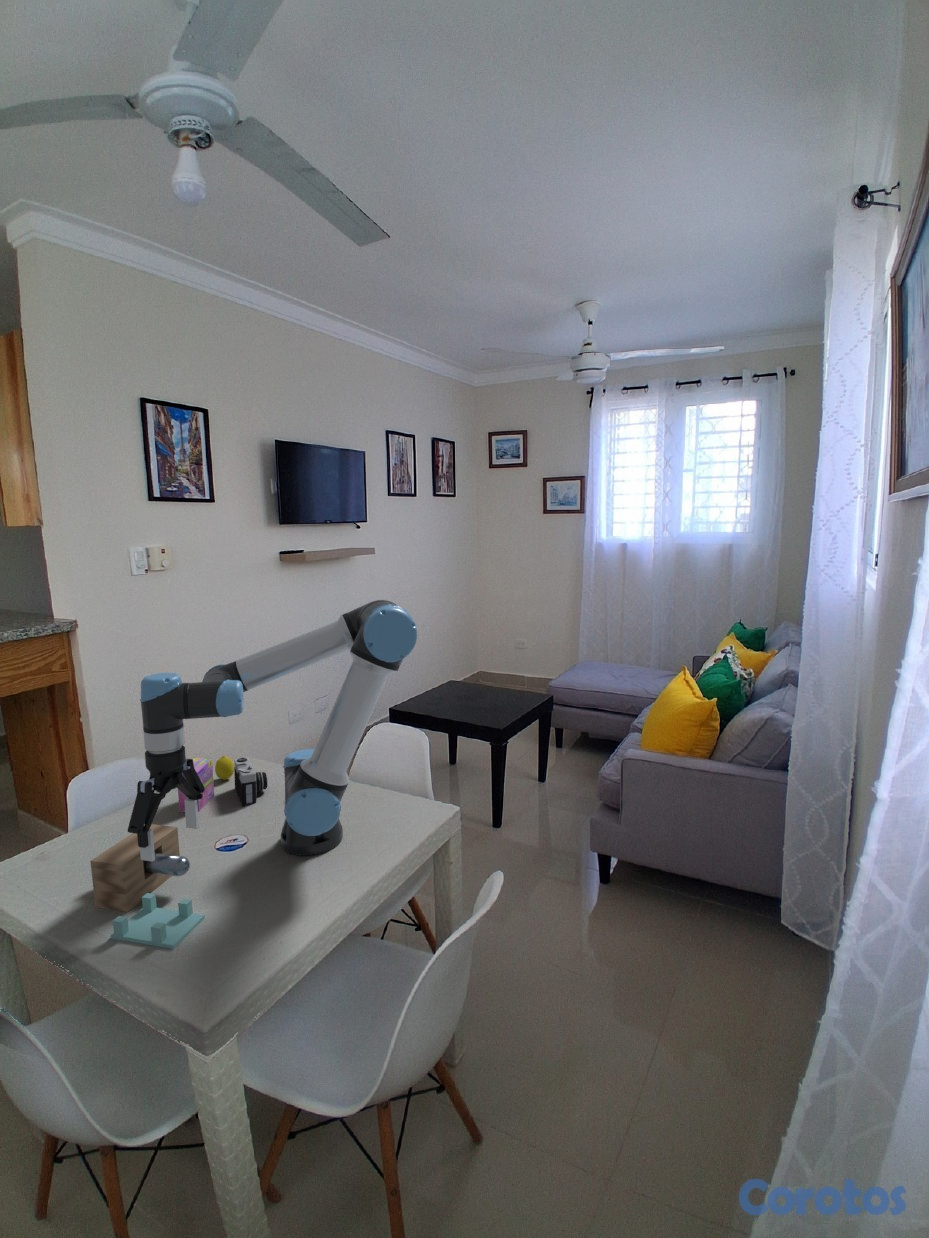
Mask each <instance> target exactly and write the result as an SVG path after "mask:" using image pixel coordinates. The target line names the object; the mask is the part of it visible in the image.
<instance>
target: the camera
mask: <svg viewBox="0 0 929 1238" xmlns="http://www.w3.org/2000/svg"><path fill="white" fill-rule="evenodd" d="M233 763H234V773H233V774H234V790H235V792H236V794H237V797H238V799H239V802H240V804H241V807H244V806H248V805H249V804H250V805H254V804H256V803H257V793H260V792H263V790H267V789H268V777H267V773H266V772H265V771H257V772H256V770H255V768H254V767H253V764H252V763H251V761H250V758H249V757H240V758H234V761H233ZM250 805H249V806H250Z"/></svg>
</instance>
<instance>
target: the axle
mask: <svg viewBox="0 0 929 1238" xmlns="http://www.w3.org/2000/svg"><path fill="white" fill-rule="evenodd" d="M143 865H144V872H150V873H157V874H164V875H171V877H173V876H174V877H182V876H185V875H186V874H187V873H188V872H189V870H190V868H191V862H190V860H189V859H188V857H186V856H183V855H182V856H181V855H180V856H176V855H168V854H161V853H155V860H154V861H145V860H143Z"/></svg>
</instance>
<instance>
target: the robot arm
mask: <svg viewBox="0 0 929 1238" xmlns="http://www.w3.org/2000/svg"><path fill="white" fill-rule="evenodd" d="M417 629H418V628H417V625H416V622H415V621H414V618H413V617H412V616H411V614H410V612H408V611H407V610H406V609H404V608H403V607H401V606H398V605H397V604H396V603H394V602H392V601H390V600H386V599H377V600H372V601H370V602H368V603H366V604H364V605H361V606H359V607H357V608H354V609H353V610H350V611H348V612H346V613H343V614H340V616H339V618H338V620H335V621H334V622H331V623H329V624H326V625H324V626H321V627H318V628H316V629H314V630H311V631H308V632H306V633H302V634H301V635H299V636H298V635H297V636H295V637H293V638H291V639H288V640H285V641H283V642H280V643H277V644H275V645H273V646H269V647H267V648H265V649H261V650H260V651H258V652H255V653H252V654H249V655H246V656H245V657H242V658H239V659H236V660H233V661H231V662H229V663H226V664H222V663H221V664H217V665H214V666H213V667H211V668H210V669H209V670H208V671H207V672H206V673H205V674H204V676H203V679H202V681H201V682H200V681H199V682H183V680H182V679H181V675H180V674H178V673H176V672H171V673H170V672H159V673H158V672H157V673H153V674H150V675H146V676H145V677H144V678H143V679H141V682H140V699H139V700H140V707H141V708H140V709H141V717H142V729H143V730H142V731H143V742H144V743H143V744H144V749H145V750H146V751H145V752H144V761H145V768H146V769H147V770H148V772H149V779H147V780H145V781H144V780H139V781H138V782H137V785H136V786H137V787H136V789H137V791H136V796H135V799H134V804H133V807H132V812H131V815H130V820H129V823H128V827H127V833H130V834H132V833H136V834H137V838H138V846H139V847H140V855H141V860H145V861H154V860H155V852H154V838H153V830H152V829H150V827H151V824H153V822H154V820H155V816H156V814H157V812H158V810H159V807H160V805H161V802H162V800H164V799H165V797H166V795H167V794H168V793H170V792H171V791H172V790H175V789H177V790H178V789H179V790H180V791H181V792H182V793H183V794H184V795H185V796H186V797H187V798H189V799H186V800H184V801H185V812H184V816H185V828H187V829H194V830H197V829H199V828H200V822H199V812H198V810H199V805H198V799H202V797H203V794H200V793H203V792H204V791H205V788H204V786H203V784H202V782H201V780H200V778H199V776H198V774H197V772H196V770H195V768H194V763H193V759H194V758H186V748H185V743H186V740H185V739H186V738H185V725H184V720H193V719H209V718H229V717H231V716H233V717H234V716H239V715H241V714H242V713H243V711H244V702H245V701H244V700H245V699H244V693H246V692H247V691H250V690H252V689H255V688H257V687H261V685H265V684H268V683H270V682H272V681H274V680H277V679H279V678H282V677H285V676H287V675H290V674H293V673H294V672H298V671H300V670H302V669H305V668H307V667H309V666H313V665H315V664H318V663H320V662H322V661H325V660H327V659H330V658H333V657H335V656H338V655H340V654H342V653H344V652H346V651H349V653H350V656H351V658H352V662H351V665H350V667H349V670H348V672H347V674H346V676H345V679H344V681H343V683H342V685H341V688H340V690H339V692H338V694H337V697H336V699H335V702H334V704H333V706H332V709H331V711H330V713H329V716H328V717H327V720H326V722H325V724H324V726H323V728H322V731H321V733H320V735H319V737H318V740H317V743H316V745H315V747H314V748H305V749H300V750H296V751H293V752H290V753H289V754H287V755H286V756H285V757H284V758H283V766H282V767H283V769H284V809H283V812H284V816H285V818H284V821H283V826H282V829H281V832H280V846H281V848H282V849H283V851H284V852H286V853H289V854H292V855H296V856H314V855H319V854H323V853H326V852H328V851H331V850H332V849H334V848H335V846H336V845H337V846H338V845H339V844H340V843H341V842H342V840H343V838H344V832H343V831H344V829H343V825H342V823H341V820H340V815H341V812H342V806H341V802H342V799H343V797H344V794H345V792H346V790H347V788H348V785H349V782H350V777H349V775H348V773H347V771H348V769H349V766H350V764H351V763H352V760H353V757H354V755H355V752H356V751H357V748H358V745H359V744H360V741H361V739H362V736H363V734H364V732H365V730H366V727H367V726H368V724H369V721H370V718H371V716H372V714H373V712H374V709H375V708H376V704H377V703H378V700H379V698H380V696H381V693H382V692H383V689H384V687H385V685H386V682H387V681H388V677H389V676H391V675H393V674H395V673H398V671H399V669H400V666H401V665H402V663H403V660H404V659H405V658H406V657H408V656H409V655H410V654H411V653H412V651H413V650H414V648H415V646H416V643H417V639H418V630H417ZM182 772H183V774H184V776H185V778H186V779H185V778H184V777H183V776H182ZM144 825H145V826H144ZM339 842H340V843H339ZM337 846H336V847H337Z"/></svg>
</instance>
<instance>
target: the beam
mask: <svg viewBox="0 0 929 1238" xmlns="http://www.w3.org/2000/svg"><path fill="white" fill-rule="evenodd" d="M144 826H145V824H144ZM150 829H152V830H153V838H154V852H155V853H161V854H168V855H176V856H181V855H180V854H181V853H180V843H179V832H178V831H179V830H178V827H177V826H170V825H162V824H154V823H152V824H151V827H150ZM89 862H90V868H91V869H90V871H91V878H92V879H91V880H92V888H93V899H94V906H95V908H98V909H99V908H101V909H105V910H106V909H107V910H112V911H118V912H126V913H129V912H130V911H131V910H133V908H134V907H136V906H137V905H139V903H141V902H142V897H143V896H144V895H145V894H146V893H151V894H153V892H155V891H156V890H157V889H159V887H161V886H162V885H163V884H164V883H165V882H167V881H168V880H169V879H170V878H171V877H172V876H171V875H164V874H157V873H150V872H144V865H143V860H141V855H140V847H139V846H138V838H137V834H136V833H130V834H129V835H127V836H126V837H125V838H123V839H122V840H120V841H118V842H117V843H115V844H114V845H113V846H111V847H109V848H108V849H106V850H105V851H103V852H102V853H100V854H98V855H97V856H95V857H94V858H93V859H91V860H90V861H89Z"/></svg>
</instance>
